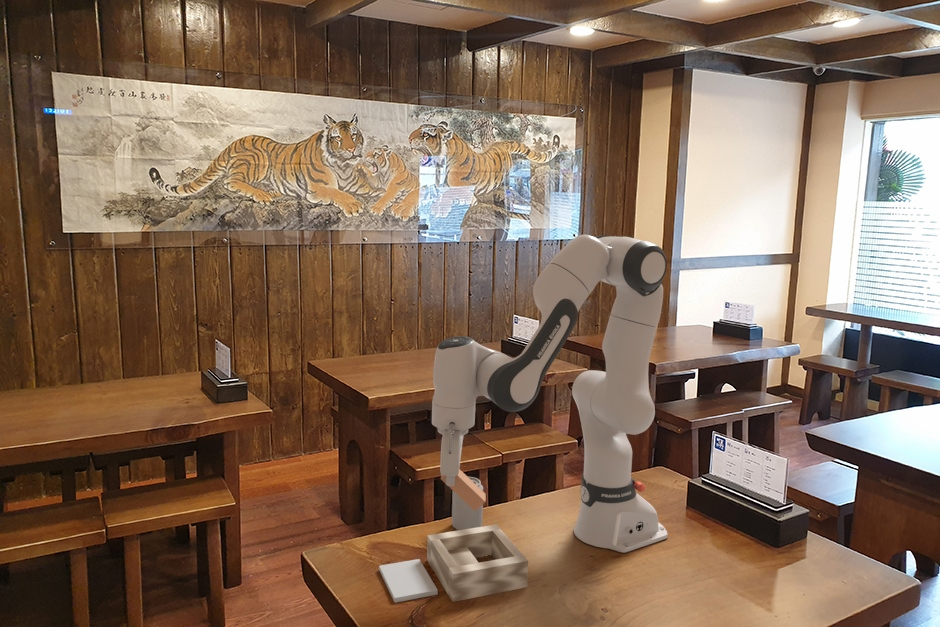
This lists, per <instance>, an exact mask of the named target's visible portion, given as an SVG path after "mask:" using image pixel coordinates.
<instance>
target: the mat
mask: <svg viewBox="0 0 940 627" xmlns="http://www.w3.org/2000/svg"><path fill="white" fill-rule="evenodd" d="M378 570H379V572H380V575H381V576H382V579H383V581H384V584H385V586H386V587H387V589H388V591H389V594H390V596H391V598H392V601H393V602H394V603H400V602H405V601H410V600H417V599H420V598H426V597H432V596H436V595H438V594H439V593H438V588H437V586H436V585H435V583H434V582H433V579H432V578H431V576H430V574H429V573H428V571H427V569H426V568H425V566H424V565H423V563H422V561H421V559H420V558H418V559H417V558H415V559H411V560H404V561H398V562H394V563H387V564H381V565H378Z"/></svg>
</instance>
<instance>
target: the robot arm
mask: <svg viewBox="0 0 940 627" xmlns="http://www.w3.org/2000/svg"><path fill="white" fill-rule="evenodd" d="M667 265H668V263H667V257H666V254H665V251H664V249H662V248H661V247H660V246H659V245H657V244H656V243H653V242H651V241H648V240H641V239H639V238H634V237H630V236H613V235H612V236H611V235H608V234H607V235H606V234H603V235H597V236H592V235H589V234H580V235H577V236H575V237H574V238H572V240H570V241H569V242H568V243H567V244H566V245H564V246H563V247H562V248H561V249H560V250H559V251H558V252H557V253H556V255H554V257H552V259H551V260H550V261H549V263H548V264H547V265H545V267H544V269H542V270H541V272H540V274H539V276H537V278H536V280H535V283H534V285H533V287H532V294H533V296H532V297H533V301H534V303H535V305H536V307H537V309H538V310H539V311H540V313H541V320H540V323H539V326H538V327H537V329H536V330H535V332H534V334H533V335H532V337H531V338H530V340H529V341H528V343H527V344H526V346H525V348H524V349H523V350H522V352H521V353H520V354H519V355H517V356H516V357H511V356H509V355H507V354H505V353H503V352H501V351H498V350H495V349H492V348H489V347H486V346H484V345H482V344H480V343H478V342H477V341H476V340H474V339H473V337H469V336H466V335H465V336H452V337H448V338H445V339H444V340H442V341H441V342H439V343H438V345H437V347H436V350H435V354H434V361H433V371H432V373H433V374H432V383H433V387H434V393H433V396H432V400H431V401H432V402H431V403H432V404H431V407H432V408H431V425H432V426H433V427H435V428H437V432H438V433H439V434H440V435H442V437H441V443H440V444H441V446H440V463H439V464H440V466H439V470H440V471H439V472H440V475H445V476H446V483H445V485H446V486H447V487H449V486H454V485H455V476H457V475H458V474H459V469H460V468H461V457H462V449H463V440H464V436H465V435H467V434H468V433H469V429H471V428H473V427H474V426H475V419H476V400H477V399H478V397H485V398H487V399H488V400H490V401H492V403H494V405H497V407H498V408H500V409H501V410H503V411H505V412H508V413H517V412H520V411H523V410H525V409H527V408H528V407H529V406H530V405H532V403H533V402H534V401H535V400H536V398H537V396H538V394H539V392H540V389H541V387H542V383H543V380H544V378H545V376H546V375H547V372H548V371H549V369H550V367H551V366H552V365H553V362H554V361H555V360H556V358H557V356H558V355H559V352H560V351H562V350H561V349H562V348H563V347H564V345H565V343H566V342H567V340H568V339H569V337H570V335H571V333H572V332H573V330H574V328H575V326H576V323H577V321H578V318H579V311H580V309H581V307H582V306H583V304H584V303H585V301H586V300H587V298H588V297H589V296H590V295H591V293H592V292H593V291H594V290H595V287H596V286H597V285H598V283H599V282H603V283H605V284H608V285H610V286H614V287H615V290H616V298H615V299H614V301H613V302H614V303H613V305H612V307H611V311H610V315H609V318H608V322H607V324H606V325H607V326H606V329H605V333H604V336H603V340H602V343H601V349H602V350H601V351H602V353H603V356H604V360H605V371H602V370H597V369H596V370H593V369H590V370H585V371H583V372H581V373H579V375H578V376H577V377H576V378H575V379H574V381H573V384H572V389H571V390H572V391H571V393H572V397H573V399H574V401H575V404H576V406H577V409H578V415H579V419H580V423H581V424H580V425H581V429H582V437H583V445H584V456H583V457H584V458H583V461H584V462H583V473H582V475H581V482H580V506H579V511H578V515H577V520H576V523H575V525H574V528H573V533H574V536H575V537H576V538H577V539H579V540H580V541H582V542H583V543H585V544H588V545H590V546H593V547H597V548H601V549H610V550H612V551H615V552H618V553H622V554H623V553H628V552H631V551H635V550H636V549H640V548H642V547H646V546H649V545H651V544H655V543H657V542H660V541H663V540H666V539H667V538H668V536H669V534H668V531H667V529H666V528H665V526H664V525H662V523H660V522H659V516H658V512H657V510H656V508H655V507H654V506H653V505H652V504H651V503H650V502H649V501H647V500H646V499H644V497H642V496H641V495H640V494H638V492H639V493H643V492H645V491H646V485H645V484H644V483H643V482H641V481H640V480H639V481H636V480H635V479H634V478H633V477H632V464H633V449H632V445H631V443H630V441H629V438H628V436H627V435H634V436H635V435H639V434H641V433H644V432H645V431H647V430H648V428H649V427H651V425H652V423H653V421H654V419H655V415H656V410H655V409H656V407H655V404H654V401H653V399H652V397H651V396H652V395H651V393H650V388H649V387H650V384H649V365H650V358H651V354H652V349H653V347H654V346H653V345H654V342H655V338H656V334H657V330H658V327H659V322H660V318H661V315H662V308H663V307H662V306H663V302H664V300H663V299H664V286H663V284H662V283H663V280H664V279H665V276H666V274H667V268H668V266H667ZM636 490H637V491H638V492H637V491H636Z"/></svg>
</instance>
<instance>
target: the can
mask: <svg viewBox="0 0 940 627" xmlns="http://www.w3.org/2000/svg"><path fill="white" fill-rule="evenodd" d="M467 477H468V478H469V479H470V480H472V481H473V482H474V483H475V484H476V485H477V486H478V487H479V488H480V489H481V490H482V491H483V492H484V486H483V485H482V484H481V483H482V482H481V480H480V479H479V478H477V477H475V476H474V477H473V476H467ZM451 490H452V489H451ZM451 497H452V499H451V500H452V504H451V525H452V527H453V528H455V531H458V530H464V529H470V528H477V527H483V514H484V513H483V512H484V511H483V510H484V508H483V507H484V506H483V505H484V504H483V505H482V506H481V507H480V508H478V509H477V510H476V511H474V510H473V509H472V508H471V507H470V506H469V505H468V504H467V503H466V502H465V501H464V500H463V499H461V498H460V497H459V496H458V495H457V494H456V493H455V492H454V491H453V490H452V495H451Z"/></svg>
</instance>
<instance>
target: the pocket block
mask: <svg viewBox="0 0 940 627" xmlns="http://www.w3.org/2000/svg"><path fill="white" fill-rule="evenodd" d="M426 537H427V538H426V539H427V541H426V542H427V543H426V545H427V546H426V547H427V548H426V551H427V552H426V560H427V563H428V565H429V566H430V568H431V569H432V571H433V573H434V572H435V573H434V574H435V576H436V577H437V579H438V580H439V583H440V584H441V586H442V587H443V589H444V590H445V592H446V594H447V596H448V598H450V600H451V602H452V603H453V602H458V601H459V602H460V601H464V600H470V599H475V598H480V597H484V596H491V595H495V594H500V593H506V592H511V591H514V590H521V589H524V588H528V575H529V574H528V573H529V572H528V570H529V560H528V559H527V558H526V556H525V555H524V554H523V553H522V552H521V550H520V549H519V548H518V547H517V546H516V545H515V544H514V543H513V541H512V540H511V539H510V538H509V537H508V536H507V535H506V534H505V532H504V531H503V530H502V529H501V528H500V527H499V526H498V524H491V525H490V524H489V525H484V526H483V525H482V526H481V527H477V528H470V529H464V530H453V531H446V532H440V533H433V534H427V536H426ZM488 555H490V556H492V557H494V558H495V559H494V558H493V559H491V560H488V561H481V562H479V561H478V560H477V559H479V558H484V556H485V557H489V556H488ZM478 557H479V558H478Z"/></svg>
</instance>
